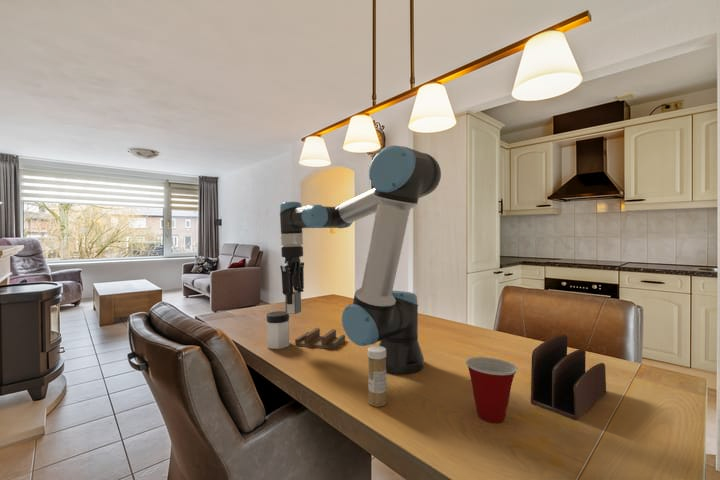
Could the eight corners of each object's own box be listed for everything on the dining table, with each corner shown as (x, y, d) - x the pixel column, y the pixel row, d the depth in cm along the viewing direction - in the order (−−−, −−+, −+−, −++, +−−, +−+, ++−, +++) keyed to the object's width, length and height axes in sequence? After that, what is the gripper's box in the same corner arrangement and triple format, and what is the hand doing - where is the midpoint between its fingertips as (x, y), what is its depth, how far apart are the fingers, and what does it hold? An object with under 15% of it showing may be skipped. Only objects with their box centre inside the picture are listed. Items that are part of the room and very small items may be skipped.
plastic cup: (524, 414, 76) (524, 361, 76) (508, 436, 68) (507, 377, 68) (477, 398, 84) (477, 350, 83) (457, 417, 76) (457, 364, 75)
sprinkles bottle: (367, 398, 85) (366, 345, 84) (385, 397, 85) (384, 344, 85) (369, 408, 80) (368, 351, 80) (388, 407, 80) (387, 351, 80)
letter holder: (530, 404, 81) (529, 345, 81) (563, 380, 93) (563, 330, 93) (576, 422, 73) (576, 357, 73) (607, 393, 86) (607, 338, 85)
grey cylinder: (301, 311, 121) (300, 290, 121) (295, 314, 118) (295, 292, 117) (291, 311, 123) (290, 290, 122) (285, 313, 119) (285, 291, 119)
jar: (273, 351, 120) (272, 317, 120) (262, 345, 126) (261, 313, 126) (294, 345, 126) (294, 313, 126) (283, 340, 132) (282, 309, 132)
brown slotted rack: (345, 340, 130) (344, 330, 130) (334, 349, 121) (334, 338, 121) (307, 337, 136) (307, 327, 135) (295, 345, 126) (295, 334, 126)
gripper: (293, 245, 129) (296, 306, 129) (269, 247, 113) (272, 317, 113) (311, 244, 127) (314, 307, 127) (290, 246, 111) (292, 317, 111)
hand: (294, 311), depth 120 cm, fingers closed on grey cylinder, 4 cm apart
